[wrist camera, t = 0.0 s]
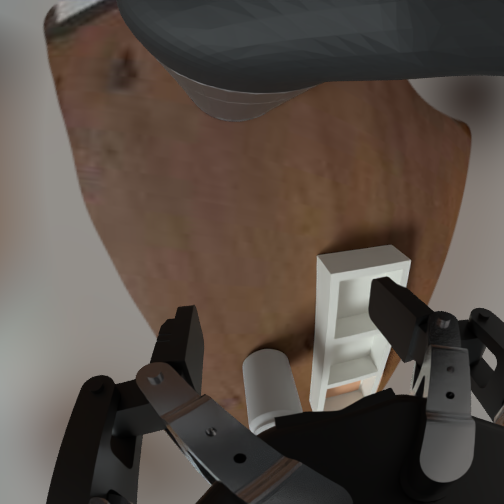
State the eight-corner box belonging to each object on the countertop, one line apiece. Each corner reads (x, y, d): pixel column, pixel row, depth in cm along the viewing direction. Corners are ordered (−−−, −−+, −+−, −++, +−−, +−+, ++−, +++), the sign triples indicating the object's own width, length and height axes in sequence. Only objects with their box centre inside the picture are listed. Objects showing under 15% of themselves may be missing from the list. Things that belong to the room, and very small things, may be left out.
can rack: (316, 255, 30) (330, 274, 26) (393, 244, 31) (413, 259, 27) (309, 400, 42) (315, 420, 38) (363, 386, 42) (372, 404, 38)
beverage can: (290, 344, 35) (313, 416, 25) (283, 374, 38) (300, 441, 27) (243, 345, 35) (253, 421, 24) (240, 376, 37) (248, 446, 26)
